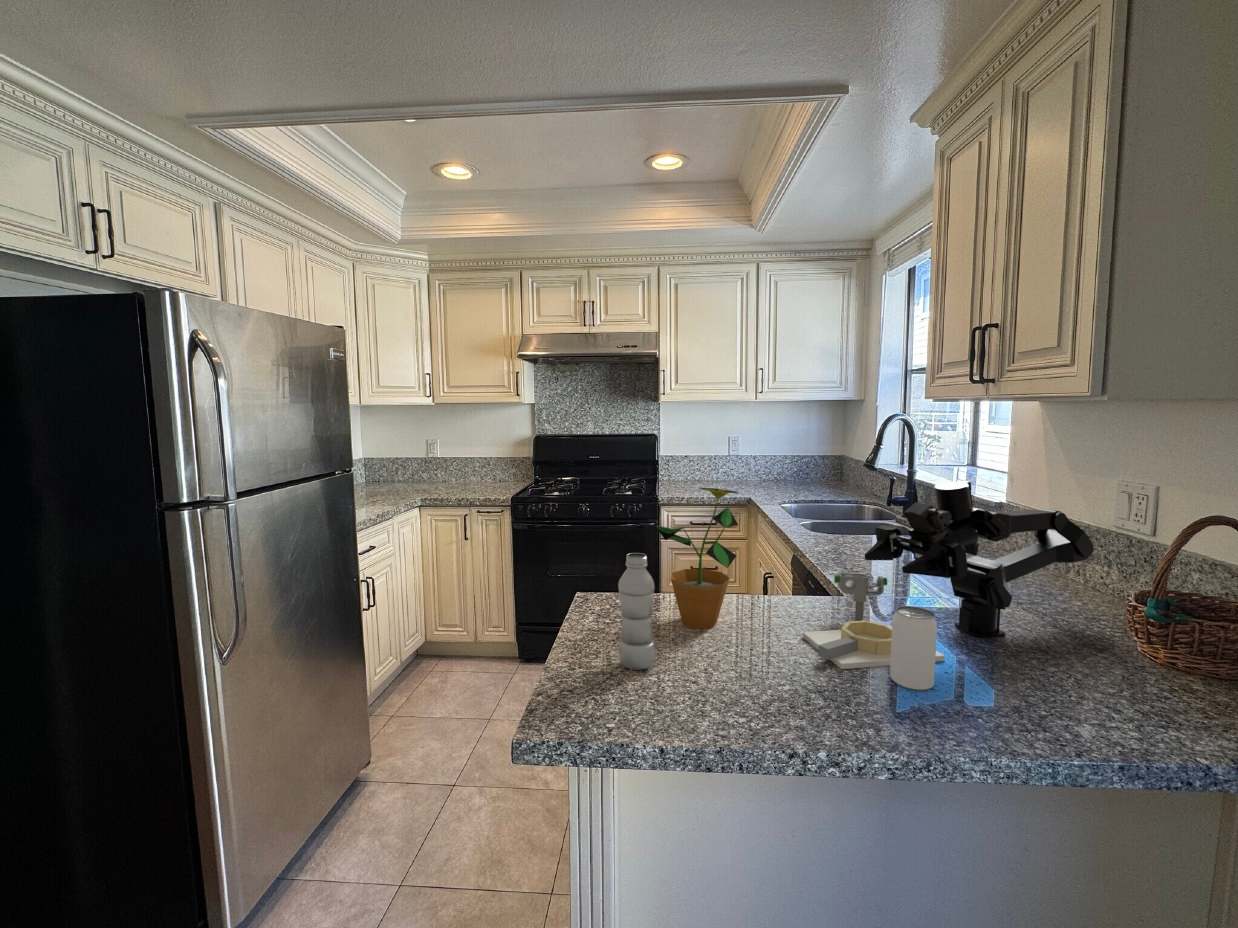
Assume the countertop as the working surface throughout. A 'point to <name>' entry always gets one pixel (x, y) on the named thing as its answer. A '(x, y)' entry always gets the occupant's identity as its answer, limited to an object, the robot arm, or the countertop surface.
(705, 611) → the potted plant
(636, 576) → the plastic bottle
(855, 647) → the octagonal ring fixture plate
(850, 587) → the mechanical component
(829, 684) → the countertop surface
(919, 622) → the can
